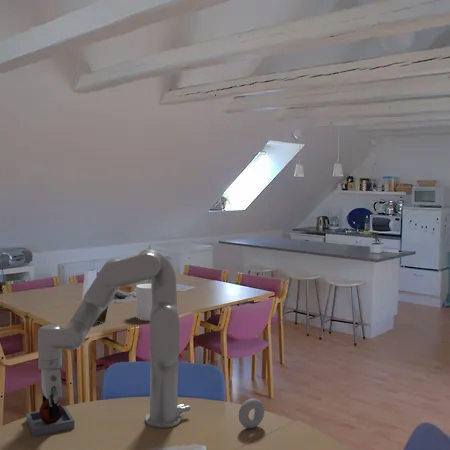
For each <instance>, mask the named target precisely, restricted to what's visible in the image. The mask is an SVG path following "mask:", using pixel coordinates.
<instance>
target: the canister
mask: <svg viewBox="0 0 450 450" xmlns="http://www.w3.org/2000/svg"><path fill="white" fill-rule="evenodd" d="M135 292H136V293H135V294H136V295H135V300H136V301H135V319H137V318H138V319H137V320H139V319H140V320H139V321H149V322H150V313H151V308H152V286H151V283H141V284H137V285H136V287H135Z"/></svg>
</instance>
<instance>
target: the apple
mask: <svg viewBox="0 0 450 450" xmlns="http://www.w3.org/2000/svg"><path fill="white" fill-rule="evenodd" d="M52 400H53V399H52ZM52 400H51V402H52ZM49 406H50V405H49V400H46V401H44V402H43V401H42V403H41V405H40V407H39V410H38V411H39V414H40V417H41V419H42V421H44V422H45V423H48V424H52V423H55V422H57V421H58V420H59V419H60V418H61V416H62V413H63V408H62V407H63V406H62V404H61V403H60V402H59V417H56V418H51V419H49Z"/></svg>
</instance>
